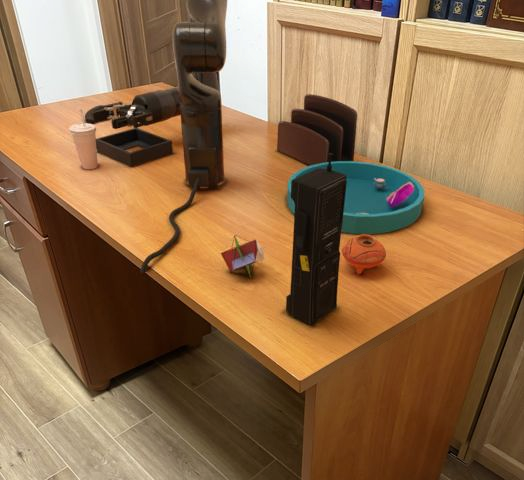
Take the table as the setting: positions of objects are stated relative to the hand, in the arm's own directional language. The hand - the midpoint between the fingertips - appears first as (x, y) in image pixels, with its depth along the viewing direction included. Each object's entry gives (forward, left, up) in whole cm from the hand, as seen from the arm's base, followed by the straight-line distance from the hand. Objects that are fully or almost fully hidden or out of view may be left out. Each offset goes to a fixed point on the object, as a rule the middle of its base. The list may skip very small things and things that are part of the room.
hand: (102, 120), depth 132 cm
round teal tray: (-26, -60, -10) cm, 66 cm away
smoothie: (-4, +4, -10) cm, 12 cm away
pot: (-54, -57, -10) cm, 79 cm away
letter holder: (+2, -54, -10) cm, 55 cm away
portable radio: (-68, -46, -10) cm, 83 cm away
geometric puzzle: (-55, -35, -10) cm, 66 cm away
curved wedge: (+38, +10, -10) cm, 40 cm away
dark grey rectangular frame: (+6, -6, -10) cm, 13 cm away
